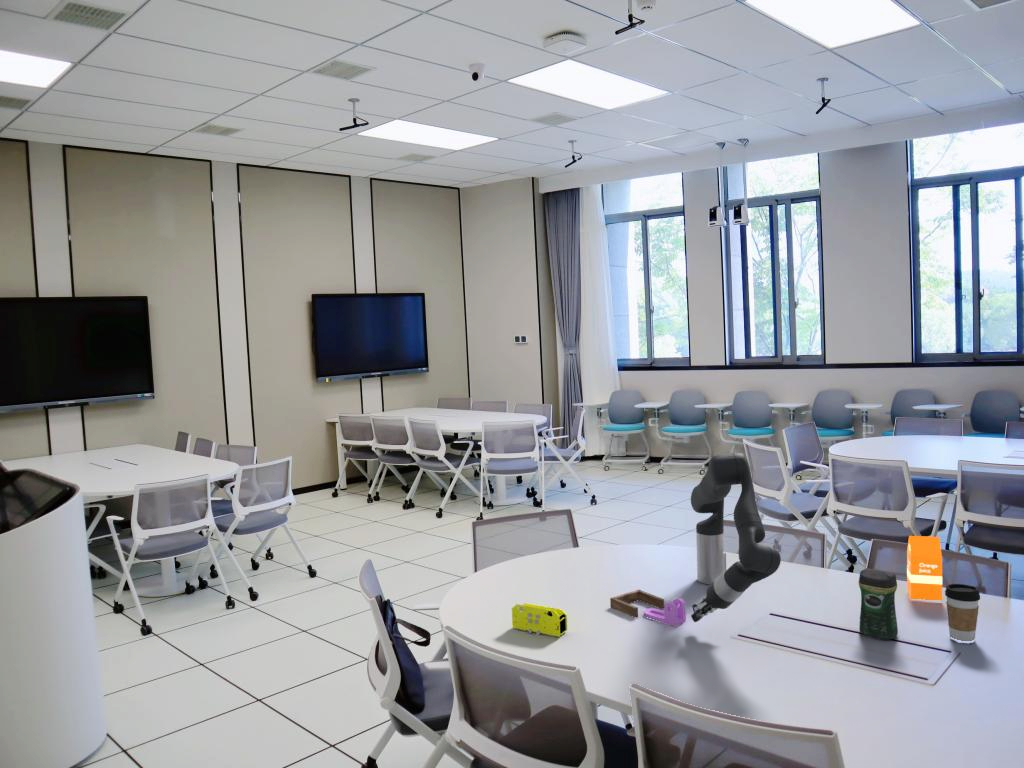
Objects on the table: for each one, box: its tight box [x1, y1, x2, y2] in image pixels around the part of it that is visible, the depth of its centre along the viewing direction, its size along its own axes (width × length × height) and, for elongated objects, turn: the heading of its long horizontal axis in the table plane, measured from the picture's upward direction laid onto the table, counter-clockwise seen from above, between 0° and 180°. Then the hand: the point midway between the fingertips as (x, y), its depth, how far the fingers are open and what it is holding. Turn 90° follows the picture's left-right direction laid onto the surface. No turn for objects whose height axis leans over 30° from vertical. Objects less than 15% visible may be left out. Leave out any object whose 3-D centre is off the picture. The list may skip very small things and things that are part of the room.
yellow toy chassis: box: [511, 602, 568, 638], centre depth 230 cm, size 16×6×8 cm, turn 59°
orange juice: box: [906, 535, 943, 601], centre depth 244 cm, size 8×9×20 cm
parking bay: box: [609, 589, 665, 618], centre depth 246 cm, size 12×12×3 cm
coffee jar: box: [858, 567, 899, 641], centre depth 218 cm, size 10×8×19 cm
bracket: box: [643, 597, 687, 627], centre depth 236 cm, size 13×6×7 cm, turn 42°
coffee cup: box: [944, 583, 981, 641], centre depth 212 cm, size 8×8×15 cm
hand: (694, 618), depth 226 cm, fingers closed
